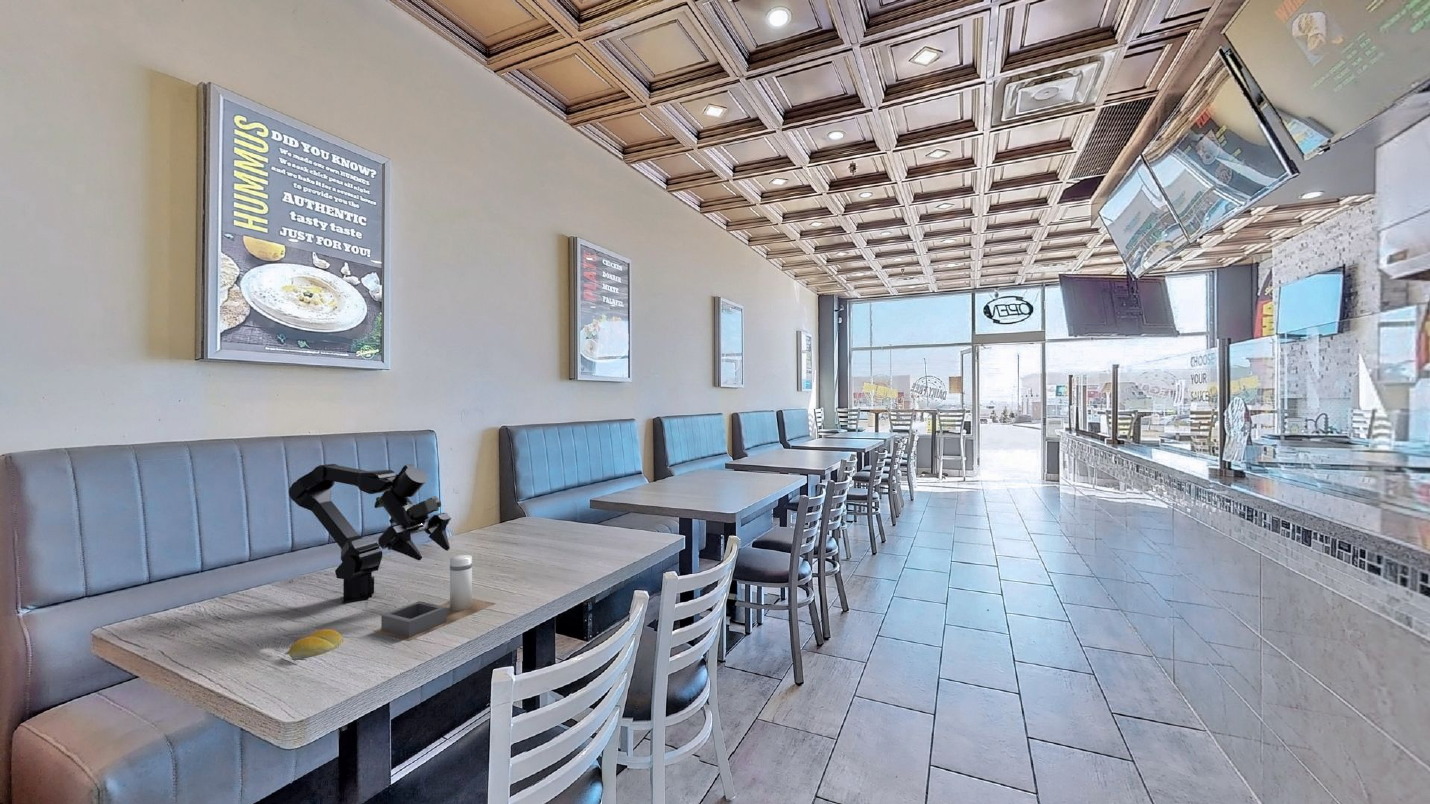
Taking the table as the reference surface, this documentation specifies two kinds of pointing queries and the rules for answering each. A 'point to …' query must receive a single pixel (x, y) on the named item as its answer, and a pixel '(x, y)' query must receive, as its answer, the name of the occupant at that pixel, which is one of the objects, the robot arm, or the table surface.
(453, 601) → the white capped cylinder
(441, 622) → the socket collar
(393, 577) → the table surface
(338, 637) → the bread roll
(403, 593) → the table surface
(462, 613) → the board
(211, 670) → the table surface
